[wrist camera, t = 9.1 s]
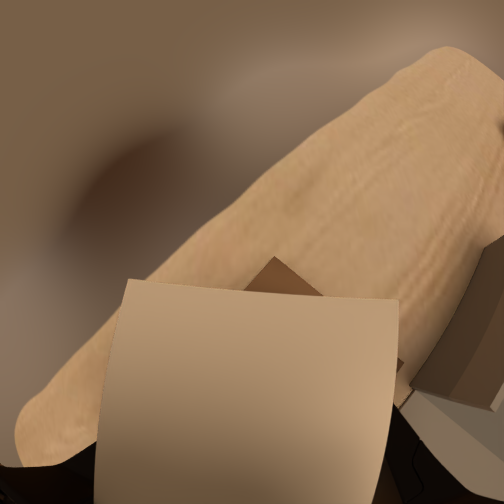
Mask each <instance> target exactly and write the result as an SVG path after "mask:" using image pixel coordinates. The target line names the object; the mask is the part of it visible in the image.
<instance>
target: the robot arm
mask: <svg viewBox="0 0 504 504" xmlns="http://www.w3.org/2000/svg"><path fill="white" fill-rule="evenodd" d="M96 444H97V441H96V442H94V443H93V444H91V445H90V446H88V447H87V448H85V449H84V450H82V451H81V452H79V453H78V454H76V455H74V456H73V457H71V458H70V459H68V460H66V461H65V462H62V463H60V464H57V465H53V466H42V467H17V468H13V467H5V466H3V465H1V463H0V504H94V473H95V456H96ZM371 504H504V501H500V500H496V499H492V498H489V497H485V496H481V495H478V494H475V493H473V492H471V491H470V490H468V489H467V488H465V487H464V486H463V485H462V484H461V483H460V482H459V481H458V480H457V479H456V478H455V477H454V476H453V475H452V474H451V473H450V472H449V471H448V470H447V469H446V468H445V467H444V466H443V465H442V464H441V463H440V462H439V461H438V459H437V458H436V457H435V456H434V455H433V454H432V452H431V451H430V450H429V449H428V447H427V446H426V445H425V444H424V442H423V441H422V440H420V437H419V436H418V434H417V433H416V432H415V431H414V429H413V428H412V427H411V425H410V424H409V423H408V421H407V420H406V419H405V417H404V416H403V415H402V414H401V412H400V411H399V410H398V408H397V407H396V406H395V405H394V403H393V406H392V413H391V419H390V426H389V432H388V437H387V442H386V448H385V452H384V457H383V462H382V466H381V470H380V474H379V478H378V482H377V486H376V489H375V493H374V496H373V500H372V503H371Z"/></svg>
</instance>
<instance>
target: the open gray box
mask: <svg viewBox="0 0 504 504" xmlns="http://www.w3.org/2000/svg"><path fill="white" fill-rule="evenodd" d="M409 386H410V387H411V388H413V389H414V390H413V392H412V393H411V394H410V396H409V397H408V398H407V400H406V401H405V402H404V403H403V405H402V406H401V407H400V408H399V411H400V412H401V414H402V415H403V416H404V417H405V419H406V420H407V421H408V423H409V424H410V425H411V427H412V428H413V429H414V431H415V432H416V433H417V434H418V436H419V437H420V440H422V441H423V442H424V444H425V445H426V446H427V447H428V449H429V450H430V451H431V452H432V454H433V455H434V456H435V457H436V458H437V459H438V461H439V462H440V463H441V464H442V465H443V466H444V467H445V468H446V469H447V470H448V471H449V472H450V473H451V474H452V475H453V476H454V477H455V478H456V479H457V480H458V481H459V482H460V483H461V484H462V485H463V486H464V487H465V488H467V489H468V490H470V491H471V492H473V493H475V494H478V495H481V496H485V497H489V498H492V499H496V500H500V501H504V235H503V236H502V237H500V238H499V239H497V240H496V241H494V242H493V243H491V244H490V245H488V246H487V247H485V248H484V251H483V253H482V256H481V258H480V261H479V263H478V266H477V268H476V270H475V273H474V275H473V277H472V280H471V282H470V284H469V286H468V288H467V290H466V292H465V294H464V296H463V298H462V300H461V302H460V304H459V306H458V308H457V310H456V312H455V314H454V316H453V318H452V319H451V321H450V323H449V325H448V327H447V328H446V330H445V332H444V333H443V335H442V337H441V338H440V340H439V342H438V343H437V345H436V347H435V348H434V350H433V351H432V353H431V354H430V356H429V358H428V359H427V361H426V362H425V364H424V365H423V367H422V368H421V369H420V371H419V372H418V374H417V375H416V377H415V378H414V379H413V381H412V382H411V383H410V385H409Z"/></svg>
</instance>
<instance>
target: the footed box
mask: <svg viewBox="0 0 504 504" xmlns="http://www.w3.org/2000/svg"><path fill="white" fill-rule="evenodd" d="M398 331H399V300H398V299H367V298H344V297H325V296H308V295H292V294H278V293H264V292H252V291H240V290H229V289H218V288H207V287H197V286H188V285H178V284H169V283H161V282H152V281H144V280H136V279H128V283H127V286H126V290H125V293H124V297H123V301H122V305H121V308H120V312H119V316H118V320H117V324H116V329H115V333H114V337H113V342H112V346H111V351H110V356H109V361H108V366H107V372H106V377H105V383H104V389H103V395H102V402H101V409H100V416H99V424H98V433H97V444H96V456H95V473H94V504H371V503H372V500H373V496H374V493H375V489H376V486H377V482H378V478H379V474H380V470H381V466H382V462H383V457H384V452H385V448H386V442H387V437H388V432H389V426H390V419H391V413H392V406H393V398H394V389H395V379H396V368H397V353H398Z"/></svg>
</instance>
